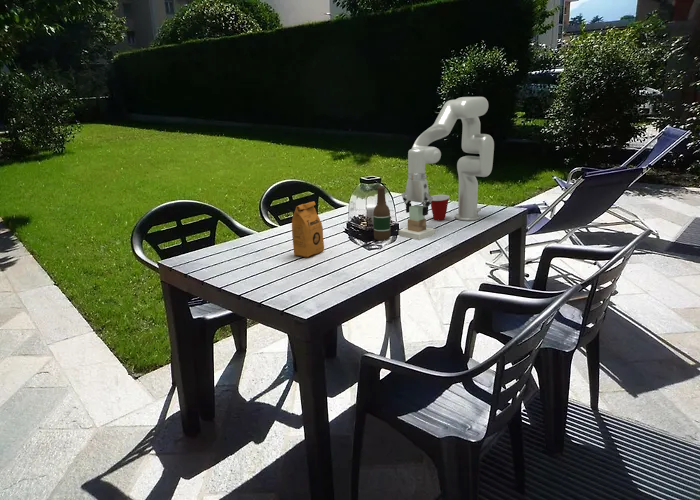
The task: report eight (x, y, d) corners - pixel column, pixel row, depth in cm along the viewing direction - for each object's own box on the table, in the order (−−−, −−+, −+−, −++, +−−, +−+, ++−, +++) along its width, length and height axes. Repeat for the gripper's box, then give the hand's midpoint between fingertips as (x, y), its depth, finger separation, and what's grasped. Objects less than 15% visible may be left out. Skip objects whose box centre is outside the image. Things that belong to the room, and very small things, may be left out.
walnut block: (415, 227, 239) (415, 217, 238) (426, 229, 235) (426, 218, 234) (407, 230, 235) (407, 219, 234) (418, 232, 231) (417, 221, 230)
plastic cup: (424, 218, 264) (424, 196, 260) (441, 215, 268) (441, 193, 264) (435, 223, 254) (436, 199, 251) (453, 220, 259) (454, 197, 255)
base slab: (415, 230, 244) (415, 225, 243) (435, 234, 236) (435, 228, 235) (398, 235, 236) (398, 230, 235) (419, 240, 228) (419, 234, 227)
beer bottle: (384, 241, 228) (383, 188, 221) (370, 239, 232) (368, 187, 225) (394, 237, 234) (393, 185, 226) (380, 235, 238) (378, 184, 231)
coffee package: (328, 252, 217) (325, 201, 210) (307, 259, 208) (303, 207, 202) (311, 248, 223) (308, 199, 217) (290, 255, 214) (286, 204, 208)
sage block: (416, 217, 237) (416, 204, 235) (424, 218, 234) (424, 206, 232) (409, 219, 234) (409, 206, 232) (417, 221, 230) (417, 208, 229)
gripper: (437, 177, 224) (437, 214, 229) (407, 173, 236) (407, 209, 241) (427, 179, 219) (426, 218, 224) (396, 176, 231) (397, 212, 236)
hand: (416, 213), depth 233 cm, fingers open, 9 cm apart
